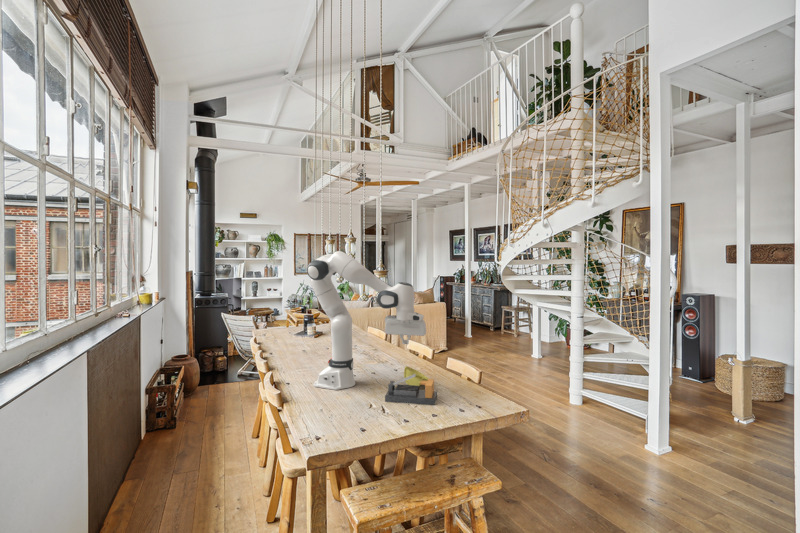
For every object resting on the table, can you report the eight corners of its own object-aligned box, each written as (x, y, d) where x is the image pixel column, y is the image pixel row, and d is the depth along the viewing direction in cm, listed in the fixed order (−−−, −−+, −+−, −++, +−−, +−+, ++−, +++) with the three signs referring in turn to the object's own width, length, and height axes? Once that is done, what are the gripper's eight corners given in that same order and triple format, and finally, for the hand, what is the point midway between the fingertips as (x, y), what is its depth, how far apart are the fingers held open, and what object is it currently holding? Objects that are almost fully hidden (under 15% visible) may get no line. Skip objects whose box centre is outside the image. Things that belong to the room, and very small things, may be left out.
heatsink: (385, 401, 189) (384, 386, 189) (390, 393, 200) (390, 379, 200) (434, 405, 184) (434, 389, 184) (437, 397, 195) (437, 382, 195)
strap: (390, 387, 193) (389, 384, 193) (391, 385, 195) (390, 383, 196) (415, 377, 190) (414, 374, 190) (416, 375, 193) (415, 373, 193)
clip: (418, 397, 186) (418, 384, 186) (422, 390, 196) (422, 378, 196) (431, 398, 185) (431, 385, 185) (434, 391, 195) (434, 379, 195)
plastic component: (435, 382, 210) (421, 377, 206) (429, 395, 209) (415, 390, 205) (417, 370, 228) (403, 365, 223) (412, 382, 227) (398, 377, 223)
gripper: (383, 316, 191) (383, 344, 191) (424, 317, 187) (424, 346, 187) (386, 314, 197) (386, 341, 197) (426, 315, 193) (426, 343, 193)
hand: (405, 343), depth 192 cm, fingers closed
